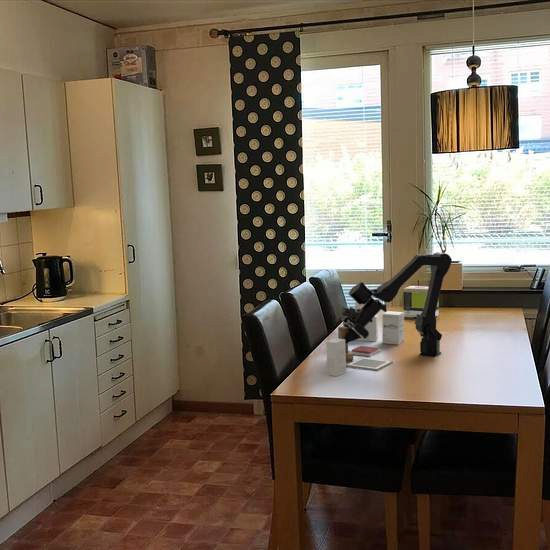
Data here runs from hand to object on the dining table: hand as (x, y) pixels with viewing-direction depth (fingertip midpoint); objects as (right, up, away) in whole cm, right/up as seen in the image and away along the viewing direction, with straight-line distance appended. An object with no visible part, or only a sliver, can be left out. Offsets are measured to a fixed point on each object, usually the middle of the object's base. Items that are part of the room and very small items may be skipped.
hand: (339, 343), depth 260 cm
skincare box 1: (-3, -9, -18) cm, 20 cm away
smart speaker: (+16, 0, +52) cm, 55 cm away
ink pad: (+11, -5, +11) cm, 17 cm away
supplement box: (+25, -3, +28) cm, 38 cm away
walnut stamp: (+2, -7, +1) cm, 7 cm away
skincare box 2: (+14, -2, +36) cm, 38 cm away
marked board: (+10, -7, -7) cm, 14 cm away
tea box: (+48, +5, +83) cm, 96 cm away
